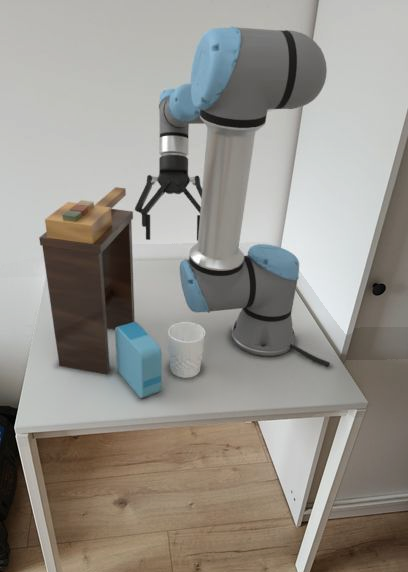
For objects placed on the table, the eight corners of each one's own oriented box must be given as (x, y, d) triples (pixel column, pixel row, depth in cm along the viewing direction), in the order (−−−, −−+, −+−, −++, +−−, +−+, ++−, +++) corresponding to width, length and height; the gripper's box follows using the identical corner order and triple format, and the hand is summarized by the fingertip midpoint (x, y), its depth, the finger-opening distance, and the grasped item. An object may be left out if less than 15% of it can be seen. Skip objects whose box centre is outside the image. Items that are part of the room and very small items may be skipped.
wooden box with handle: (102, 192, 116) (100, 172, 113) (139, 197, 115) (139, 176, 112) (47, 237, 93) (43, 213, 91) (92, 244, 92) (91, 220, 89)
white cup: (207, 362, 114) (209, 326, 109) (196, 383, 108) (199, 345, 102) (174, 355, 116) (175, 318, 110) (162, 375, 110) (162, 337, 104)
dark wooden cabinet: (90, 321, 126) (79, 204, 109) (136, 329, 124) (133, 211, 107) (57, 365, 111) (38, 237, 93) (109, 374, 109) (100, 245, 92)
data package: (161, 394, 105) (162, 347, 98) (142, 401, 102) (141, 353, 96) (135, 364, 113) (133, 318, 106) (116, 370, 110) (114, 324, 103)
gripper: (222, 159, 133) (220, 241, 137) (129, 158, 134) (130, 239, 139) (221, 154, 126) (219, 240, 130) (123, 153, 127) (124, 238, 131)
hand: (173, 240), depth 134 cm, fingers open, 13 cm apart
